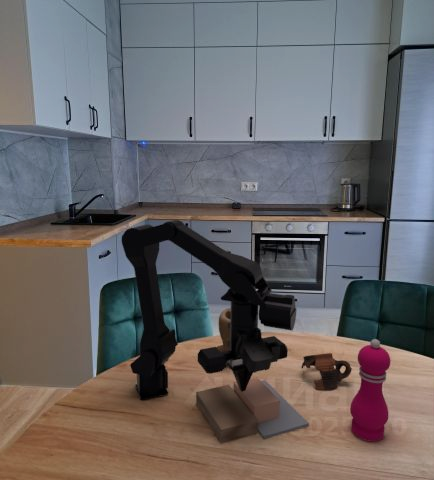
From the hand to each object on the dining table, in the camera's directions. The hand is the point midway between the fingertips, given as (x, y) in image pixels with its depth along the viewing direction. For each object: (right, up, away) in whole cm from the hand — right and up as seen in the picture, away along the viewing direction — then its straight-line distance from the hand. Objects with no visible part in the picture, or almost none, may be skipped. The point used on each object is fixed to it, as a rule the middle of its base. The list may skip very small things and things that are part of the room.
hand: (242, 390), depth 85 cm
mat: (+5, -5, +3) cm, 8 cm away
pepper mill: (+25, -7, -4) cm, 26 cm away
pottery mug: (+22, -3, +15) cm, 27 cm away
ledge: (-4, -6, 0) cm, 7 cm away
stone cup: (+1, -1, +25) cm, 25 cm away
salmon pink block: (0, -3, +1) cm, 3 cm away
